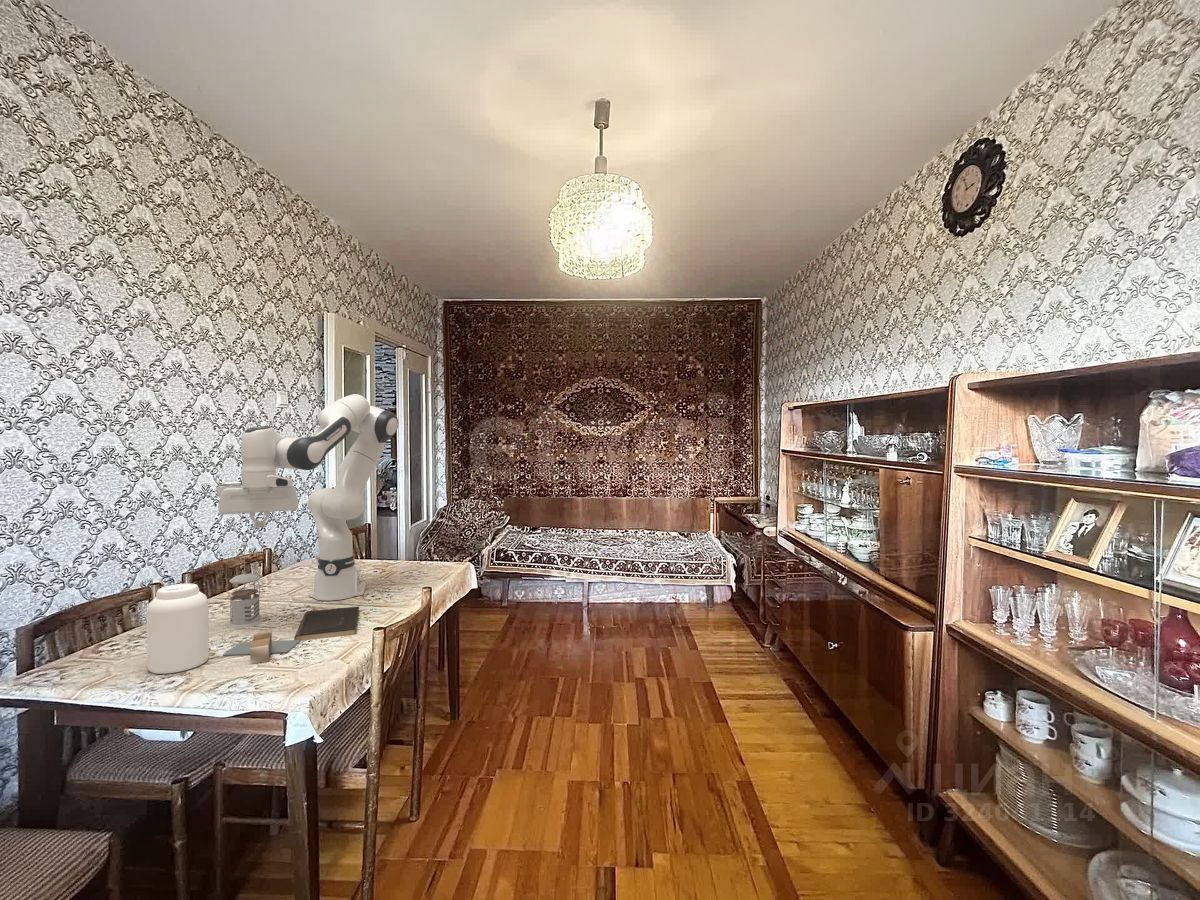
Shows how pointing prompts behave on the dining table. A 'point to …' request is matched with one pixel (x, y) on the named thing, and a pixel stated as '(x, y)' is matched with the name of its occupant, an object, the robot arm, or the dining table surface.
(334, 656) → the dining table surface
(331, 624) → the hardcover book
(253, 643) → the walnut block
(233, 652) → the rubber mat
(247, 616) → the french press
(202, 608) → the white lidded jar
